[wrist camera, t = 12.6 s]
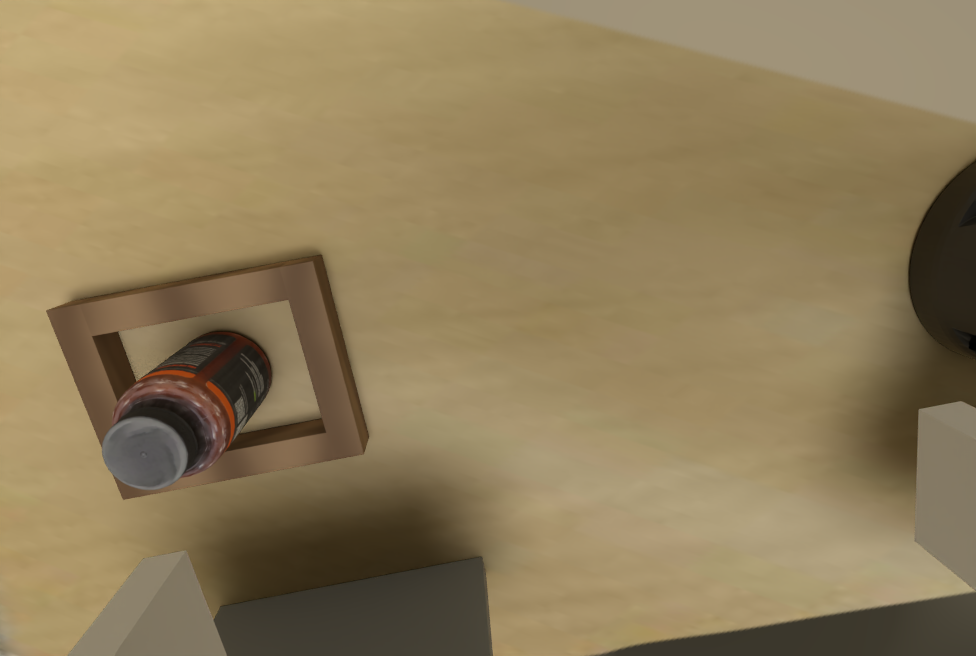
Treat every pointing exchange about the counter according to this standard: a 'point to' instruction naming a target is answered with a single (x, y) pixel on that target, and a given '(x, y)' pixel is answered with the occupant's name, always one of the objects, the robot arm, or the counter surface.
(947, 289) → the robot arm
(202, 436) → the supplement bottle
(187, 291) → the wooden frame
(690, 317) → the counter surface
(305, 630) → the grey l-shaped bracket
